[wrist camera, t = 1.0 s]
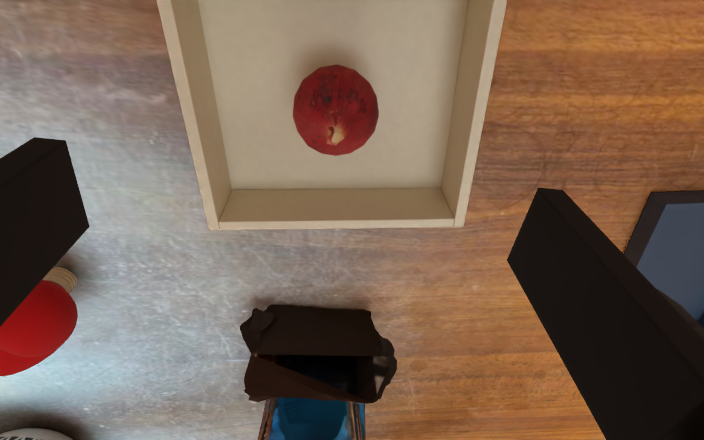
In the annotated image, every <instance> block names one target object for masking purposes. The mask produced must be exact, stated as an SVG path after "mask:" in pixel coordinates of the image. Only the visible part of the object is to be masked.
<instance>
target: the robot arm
mask: <svg viewBox="0 0 704 440" xmlns="http://www.w3.org/2000/svg"><path fill="white" fill-rule="evenodd" d="M88 228H89V223H88V220H87V216H86V213H85V209H84V205H83V202H82V198H81V195H80V191H79V187H78V184H77V180H76V176H75V173H74V169H73V166H72V162H71V158H70V155H69V151H68V147H67V144H66V141H65V140H55V139H45V138H35V137H34V138H33V139H31V140H30V141H28V142H26V143H25V144H23V145H21V146H20V147H18V148H17V149H15V150H13V151H12V152H10V153H9V154H7V155H5V156H4V157H2V158H1V159H0V327H1V325H2V324H3V323H4V322H5V321H6V320H7V319H8V318H9V316H10V315H11V314H12V313H13V312H14V311H15V310H16V309H17V307H18V306H19V305H20V304H21V303H22V302H23V301H24V300H25V298H26V297H27V296H28V295H29V294H30V293H31V292H32V291H33V289H34V288H35V287H36V286H37V285H38V284H39V283H40V282H41V280H42V279H43V278H44V277H45V276H46V275H47V274H48V273H49V271H50V270H51V269H52V268H53V267H54V266H55V265H56V264H57V262H58V261H59V260H60V259H61V258H62V257H63V256H64V255H65V253H66V252H67V251H68V250H69V249H70V248H71V247H72V246H73V244H74V243H75V242H76V241H77V240H78V239H79V238H80V237H81V235H82V234H83V233H84V232H85V231H86V230H87V229H88ZM507 261H508V263H509V265H510V267H511V268H512V270H513V272H514V274H515V276H516V277H517V279H518V281H519V283H520V285H521V286H522V288H523V290H524V292H525V294H526V295H527V297H528V299H529V301H530V303H531V304H532V306H533V308H534V310H535V312H536V314H537V315H538V317H539V319H540V321H541V323H542V324H543V326H544V328H545V330H546V332H547V333H548V335H549V337H550V339H551V341H552V342H553V344H554V346H555V348H556V350H557V351H558V353H559V355H560V357H561V359H562V360H563V362H564V364H565V366H566V368H567V369H568V371H569V373H570V375H571V377H572V378H573V380H574V382H575V384H576V386H577V388H578V389H579V391H580V393H581V395H582V397H583V398H584V400H585V402H586V404H587V406H588V407H589V409H590V411H591V413H592V415H593V416H594V418H595V420H596V422H597V424H598V425H599V427H600V429H601V431H602V433H603V434H604V436H605V438H606V440H704V328H703V327H699V323H698V322H697V321H696V320H695V319H694V318H693V317H692V316H691V315H690V314H689V313H688V312H687V311H686V310H685V309H684V308H683V307H682V306H681V305H680V304H679V303H677V302H676V301H674V300H673V299H671V298H670V297H669V296H667V295H666V294H664V293H663V292H662V291H660V290H659V289H656V288H655V287H654V286H653V285H652V284H651V283H650V282H649V281H648V280H647V279H646V277H645V276H644V275H643V274H642V273H641V272H640V271H639V270H638V269H637V268H636V267H635V266H634V265H633V264H632V263H631V262H630V261H629V260H628V258H627V257H626V256H625V255H624V254H623V253H622V252H621V251H620V250H619V249H618V248H617V247H616V246H615V245H614V244H613V243H612V242H611V241H610V239H609V238H608V237H607V236H606V235H605V234H604V233H603V232H602V231H601V230H600V229H599V228H598V227H597V226H596V225H595V224H594V223H593V222H592V220H591V219H590V218H589V217H588V216H587V215H586V214H585V213H584V212H583V211H582V210H581V209H580V208H579V207H578V206H577V205H576V204H575V203H574V202H573V200H572V199H571V198H570V197H569V196H568V195H567V194H566V193H565V192H564V191H563V190H556V189H546V188H538V190H537V192H536V194H535V196H534V199H533V201H532V203H531V206H530V208H529V210H528V213H527V215H526V217H525V220H524V222H523V224H522V227H521V229H520V231H519V233H518V236H517V238H516V240H515V243H514V245H513V247H512V250H511V252H510V254H509V257H508V259H507Z"/></svg>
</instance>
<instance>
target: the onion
mask: <svg viewBox="0 0 704 440" xmlns="http://www.w3.org/2000/svg"><path fill="white" fill-rule="evenodd" d="M378 117H379V109H378V102H377V96H376V94H375V92H374V90H373V88H372V86H371V84H370V82H368V81H367V80H366V79H365V78H364V77H363V76H361V75H360V74H359V73H358V72H357V71H356V70H354V69H351V68H348V67H345V66H341V65H338V64H337V65H331V66H325V67H319V68H318V69H317V70H315V71H314V72H313V73H311V74H310V75H309V76H307V77H306V78H305V79H303V80H302V82H301V84H300V86H299V88H298V90H297V92H296V94H295V97H294V105H293V119H294V122H295V125H296V128H297V131H298V133H299V134H300V136H301V137H302V139H303V140H304V142H305V143H306V144H307V146H309V147H310V148H312V149H314V150H316V151H318V152H320V153H322V154H327V155H334V156H338V155H344V154H350V153H352V152H353V151H355V150H357V149H359V148H360V147H362V146H364V145H365V143H366V142H367V141H368V139H369V138H370V137H371V136H372V134H373V133H374V132H375V129H376V125H377V121H378Z"/></svg>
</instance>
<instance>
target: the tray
mask: <svg viewBox="0 0 704 440" xmlns="http://www.w3.org/2000/svg"><path fill="white" fill-rule="evenodd" d="M624 255H625V256H626V257H627V258H628V260H629V261H630V262H631V263H632V264H633V265H634V266H635V267H636V268H637V269H638V270H639V271H640V272H641V273H642V274H643V275H644V276H645V277H646V279H647V280H648V281H649V282H650V283H651V284H652V285H653V286H654V287H655V288H656V289H659V290H660V291H662V292H663V293H664V294H666V295H667V296H669V297H670V298H671V299H673V300H674V301H676V302H677V303H679V304H680V305H681V306H682V307H683V308H684V309H685V310H686V311H687V312H688V313H689V314H690V315H691V316H692V317H693V318H694V319H695V320H696V321H697V322H698V323H699V327H703V328H704V191H681V192H652V193H651V194H650V197H649V199H648V201H647V203H646V205H645V208H644V210H643V212H642V214H641V217H640V219H639V221H638V223H637V226H636V228H635V230H634V232H633V234H632V237H631V239H630V241H629V243H628V246H627V248H626V250H625V252H624Z"/></svg>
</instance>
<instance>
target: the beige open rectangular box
mask: <svg viewBox="0 0 704 440" xmlns="http://www.w3.org/2000/svg"><path fill="white" fill-rule="evenodd" d="M506 3H507V0H157V5H158V9H159V13H160V18H161V22H162V27H163V31H164V35H165V40H166V44H167V48H168V53H169V57H170V61H171V66H172V70H173V75H174V79H175V83H176V88H177V92H178V96H179V101H180V105H181V109H182V114H183V118H184V122H185V127H186V131H187V136H188V140H189V144H190V149H191V153H192V157H193V162H194V166H195V170H196V175H197V179H198V183H199V188H200V192H201V197H202V201H203V205H204V210H205V214H206V218H207V223H208V227H209V230H210V231H216V230H274V229H348V228H422V227H463V226H464V221H465V216H466V211H467V205H468V200H469V195H470V190H471V185H472V179H473V174H474V169H475V164H476V159H477V154H478V148H479V143H480V138H481V133H482V128H483V122H484V117H485V112H486V107H487V102H488V97H489V91H490V86H491V81H492V76H493V71H494V65H495V60H496V55H497V50H498V45H499V40H500V34H501V29H502V24H503V19H504V14H505V8H506ZM337 64H338V65H341V66H345V67H348V68H351V69H354V70H356V71H357V72H358V73H359V74H360V75H361V76H363V77H364V78H365V79H366V80H367V81H368V82H370V84H371V86H372V88H373V90H374V92H375V94H376V96H377V102H378V109H379V117H378V121H377V125H376V129H375V132H374V133H373V134H372V136H371V137H370V138H369V139H368V141H367V142H366V143H365V145H364V146H362V147H360V148H359V149H357V150H355V151H353V152H352V153H350V154H344V155H338V156H334V155H327V154H322V153H320V152H318V151H316V150H314V149H312V148H310V147H309V146H307V144H306V143H305V142H304V140H303V139H302V137H301V136H300V134H299V133H298V131H297V128H296V125H295V122H294V119H293V105H294V97H295V94H296V92H297V90H298V88H299V86H300V84H301V82H302V80H303V79H305V78H306V77H307V76H309V75H310V74H311V73H313V72H314V71H315V70H317V69H318V68H319V67H325V66H331V65H337Z"/></svg>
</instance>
